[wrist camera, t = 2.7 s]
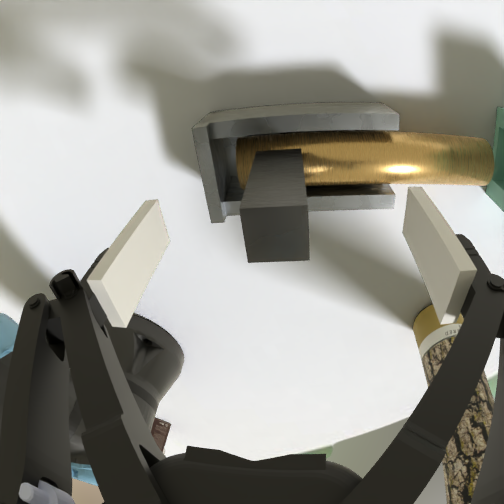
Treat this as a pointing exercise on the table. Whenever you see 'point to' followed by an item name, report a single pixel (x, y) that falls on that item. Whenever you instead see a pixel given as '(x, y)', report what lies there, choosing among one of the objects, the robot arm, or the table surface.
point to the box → (160, 432)
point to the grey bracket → (282, 122)
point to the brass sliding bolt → (339, 176)
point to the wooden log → (474, 419)
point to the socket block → (498, 163)
